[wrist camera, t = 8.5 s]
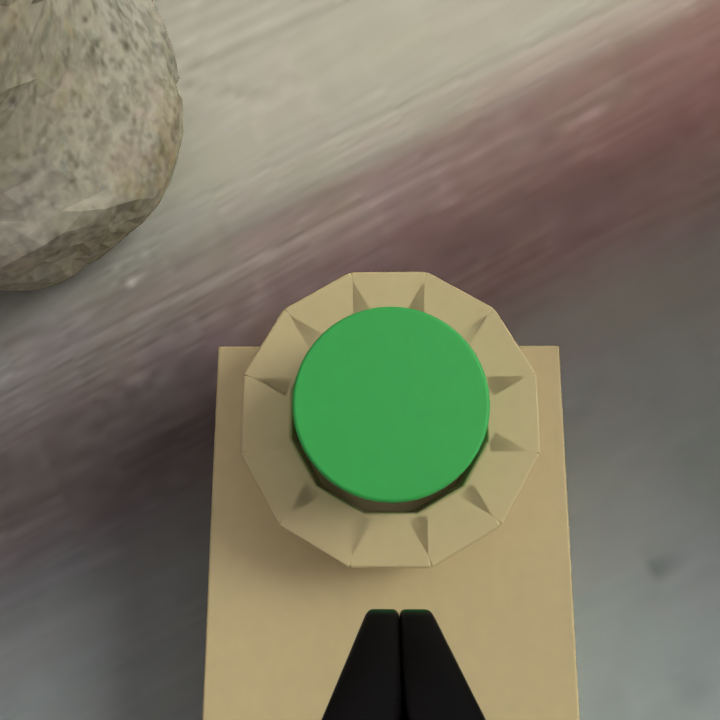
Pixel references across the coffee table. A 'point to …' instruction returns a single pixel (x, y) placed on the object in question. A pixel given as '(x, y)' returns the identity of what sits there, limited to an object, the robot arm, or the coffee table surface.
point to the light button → (391, 404)
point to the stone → (81, 131)
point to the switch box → (388, 528)
